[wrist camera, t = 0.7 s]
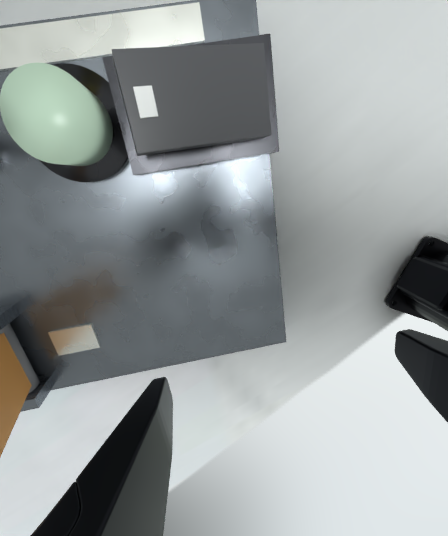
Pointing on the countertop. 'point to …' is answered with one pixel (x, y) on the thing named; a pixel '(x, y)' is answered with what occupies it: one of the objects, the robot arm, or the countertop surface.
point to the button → (54, 116)
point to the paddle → (13, 381)
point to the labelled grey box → (193, 95)
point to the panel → (136, 217)
